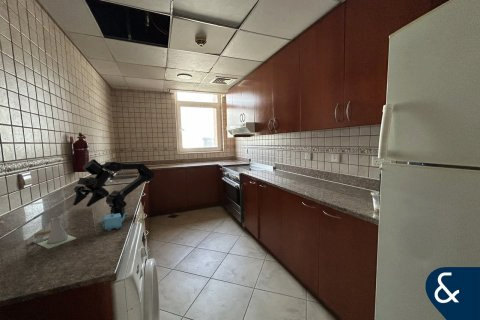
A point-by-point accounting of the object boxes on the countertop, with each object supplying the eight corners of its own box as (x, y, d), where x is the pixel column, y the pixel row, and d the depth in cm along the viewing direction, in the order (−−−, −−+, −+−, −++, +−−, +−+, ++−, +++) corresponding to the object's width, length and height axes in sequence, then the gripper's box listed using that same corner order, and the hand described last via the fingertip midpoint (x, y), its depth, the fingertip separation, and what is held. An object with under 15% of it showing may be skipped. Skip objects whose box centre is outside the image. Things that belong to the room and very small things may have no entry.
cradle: (59, 232, 100) (59, 226, 100) (63, 234, 98) (63, 228, 98) (32, 241, 91) (31, 235, 91) (35, 243, 89) (35, 236, 89)
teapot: (127, 223, 110) (127, 209, 110) (129, 226, 106) (128, 212, 105) (101, 229, 104) (100, 214, 103) (101, 233, 99) (100, 218, 98)
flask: (63, 242, 88) (61, 220, 88) (42, 245, 86) (40, 222, 86) (71, 235, 95) (69, 214, 95) (52, 238, 93) (50, 216, 93)
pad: (65, 234, 97) (65, 234, 97) (76, 238, 93) (76, 237, 93) (37, 244, 89) (37, 243, 88) (48, 248, 84) (48, 247, 84)
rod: (59, 229, 99) (59, 226, 99) (60, 229, 98) (60, 226, 98) (34, 236, 91) (33, 233, 91) (35, 237, 90) (35, 234, 90)
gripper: (76, 171, 108) (53, 196, 98) (101, 171, 102) (80, 198, 93) (91, 182, 116) (72, 207, 107) (116, 184, 110) (98, 210, 101)
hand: (80, 205), depth 101 cm, fingers open, 9 cm apart
